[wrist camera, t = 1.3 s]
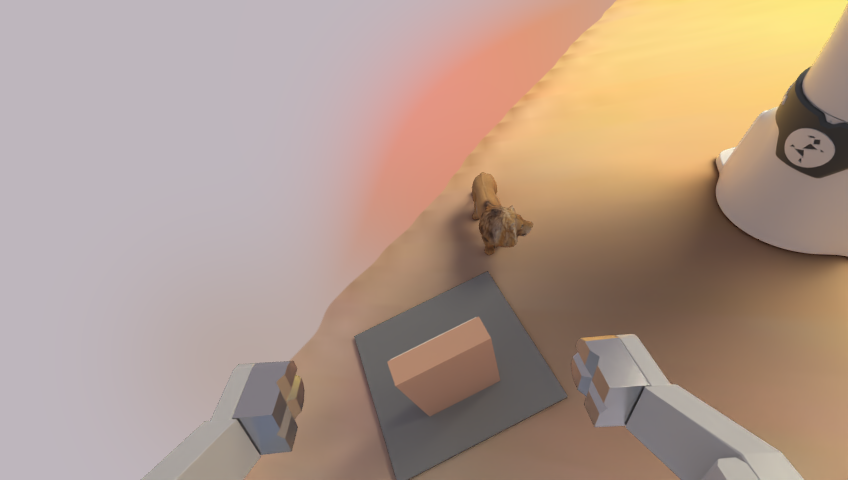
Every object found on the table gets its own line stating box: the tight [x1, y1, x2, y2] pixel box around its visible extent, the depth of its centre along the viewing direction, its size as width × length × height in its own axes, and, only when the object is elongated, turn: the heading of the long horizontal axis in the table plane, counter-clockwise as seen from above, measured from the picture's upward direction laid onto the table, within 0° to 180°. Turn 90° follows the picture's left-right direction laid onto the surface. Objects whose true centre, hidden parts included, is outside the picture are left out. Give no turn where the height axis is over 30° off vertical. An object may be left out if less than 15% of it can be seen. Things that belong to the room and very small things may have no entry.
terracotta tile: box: [387, 316, 500, 416], centre depth 32 cm, size 8×2×12 cm, turn 113°
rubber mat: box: [354, 271, 568, 480], centre depth 39 cm, size 18×16×1 cm
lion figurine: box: [472, 172, 533, 255], centre depth 45 cm, size 15×5×9 cm, turn 17°
